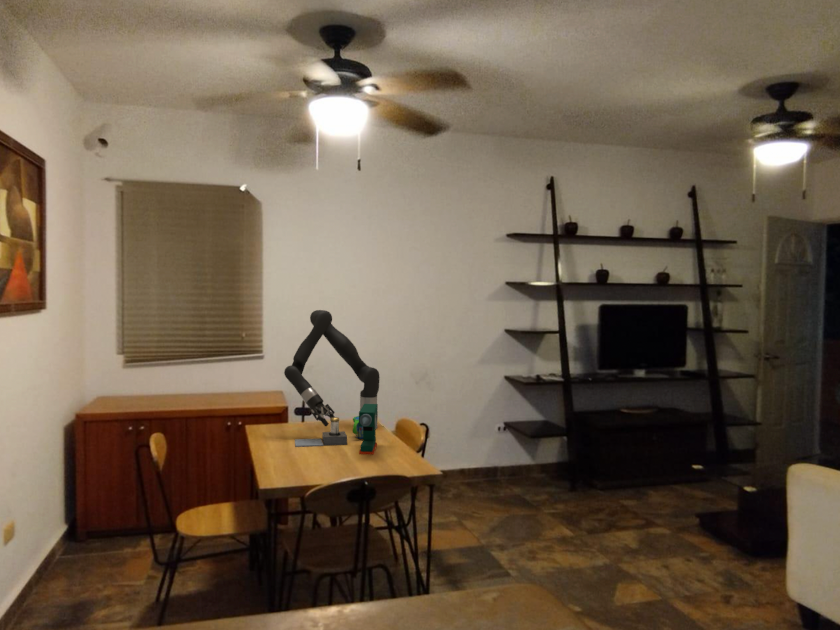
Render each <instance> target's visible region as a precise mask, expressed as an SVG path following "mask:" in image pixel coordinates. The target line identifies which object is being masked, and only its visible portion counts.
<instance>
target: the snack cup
mask: <svg viewBox="0 0 840 630" xmlns="http://www.w3.org/2000/svg"><path fill="white" fill-rule="evenodd" d="M352 422H353V425H352V426H353V428H352V433H353V435H355V438H357V439H360V440H363V427H359V415H357V416H354V417H352Z"/></svg>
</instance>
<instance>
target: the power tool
mask: <svg viewBox="0 0 840 630" xmlns="http://www.w3.org/2000/svg"><path fill="white" fill-rule="evenodd" d="M378 406H379V405H378V403H377V404H364V405H363V406H362V408H361V410H360V409H359V412H358V416H359V427H363V439H362V442H361V444H360V450H359V451H358V454H359V455H374V454H375V451H376V448H377V445H378V442H377V437H376V435H377V434H376V432H377V431H376V421H377V422H378V419H377V417H379V416H378V414H377V411H378Z"/></svg>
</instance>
